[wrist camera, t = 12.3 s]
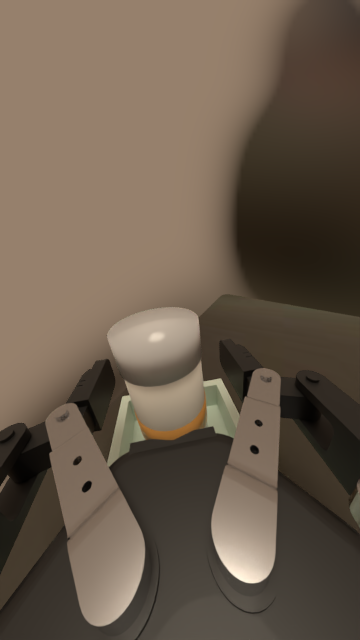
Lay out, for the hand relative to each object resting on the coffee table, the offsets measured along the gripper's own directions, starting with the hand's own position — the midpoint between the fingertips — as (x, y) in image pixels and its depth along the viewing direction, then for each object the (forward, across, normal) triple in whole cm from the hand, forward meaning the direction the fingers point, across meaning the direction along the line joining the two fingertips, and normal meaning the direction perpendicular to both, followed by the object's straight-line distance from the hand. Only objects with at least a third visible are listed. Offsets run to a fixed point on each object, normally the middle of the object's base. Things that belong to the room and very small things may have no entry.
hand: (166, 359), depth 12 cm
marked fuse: (-2, 0, +8) cm, 8 cm away
